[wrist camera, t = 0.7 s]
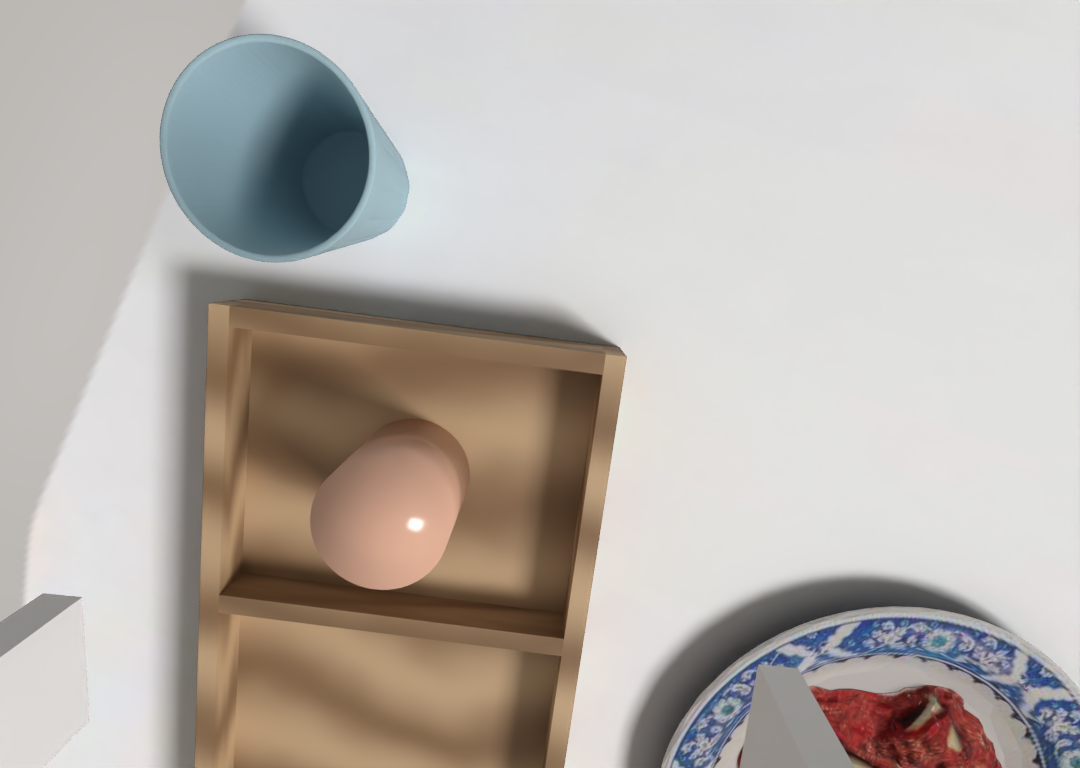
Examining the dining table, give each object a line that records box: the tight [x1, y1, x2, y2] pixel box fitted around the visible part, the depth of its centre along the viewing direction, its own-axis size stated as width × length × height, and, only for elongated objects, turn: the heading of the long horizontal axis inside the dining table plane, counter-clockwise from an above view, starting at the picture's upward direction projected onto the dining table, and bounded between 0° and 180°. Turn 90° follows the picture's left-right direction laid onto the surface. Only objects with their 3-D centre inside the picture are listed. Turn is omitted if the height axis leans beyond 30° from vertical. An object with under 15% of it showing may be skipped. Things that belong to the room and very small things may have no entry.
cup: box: [160, 34, 409, 262], centre depth 28 cm, size 8×8×10 cm
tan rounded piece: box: [310, 419, 470, 590], centre depth 31 cm, size 6×6×7 cm
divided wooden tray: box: [195, 299, 627, 768], centre depth 35 cm, size 31×20×4 cm, turn 173°
